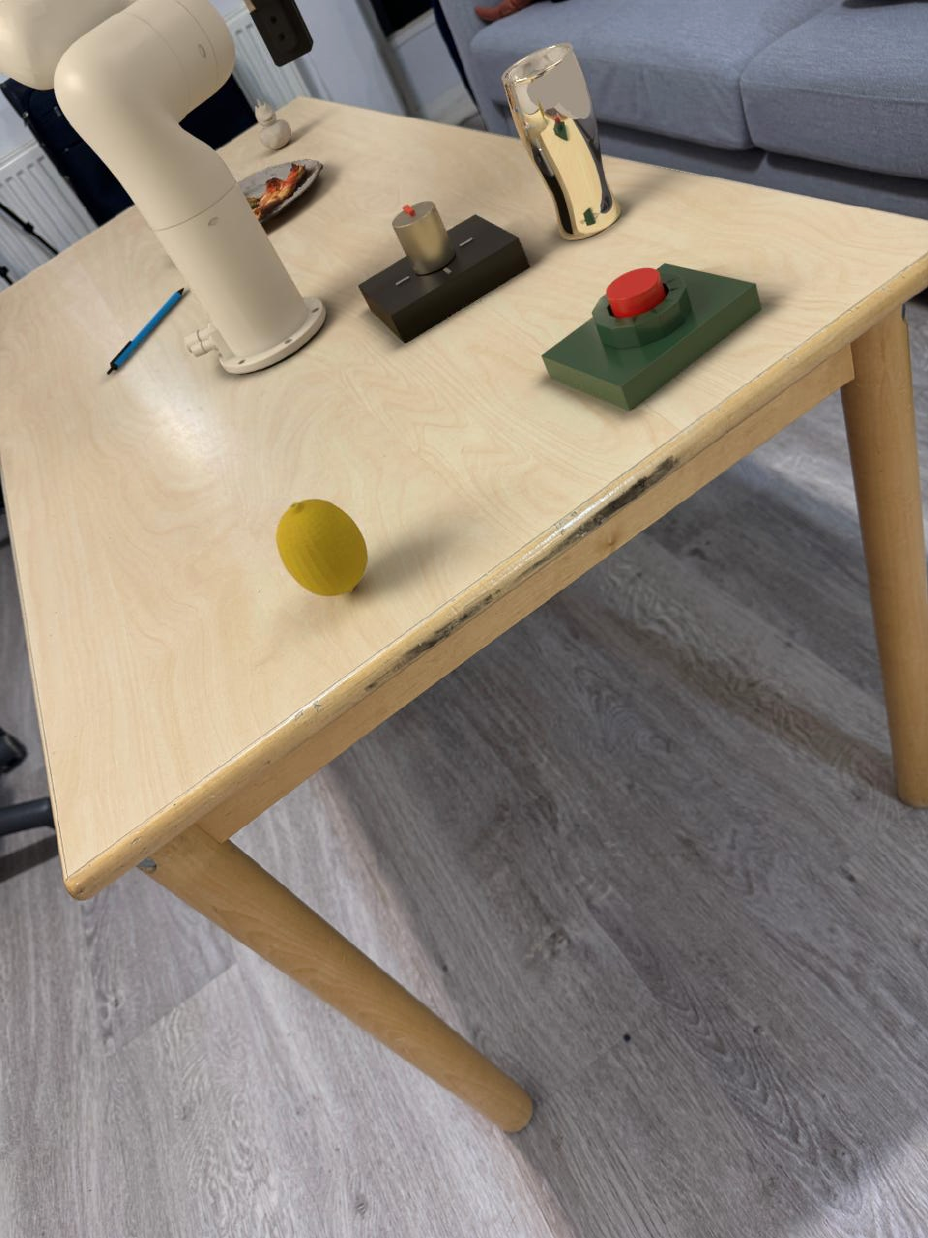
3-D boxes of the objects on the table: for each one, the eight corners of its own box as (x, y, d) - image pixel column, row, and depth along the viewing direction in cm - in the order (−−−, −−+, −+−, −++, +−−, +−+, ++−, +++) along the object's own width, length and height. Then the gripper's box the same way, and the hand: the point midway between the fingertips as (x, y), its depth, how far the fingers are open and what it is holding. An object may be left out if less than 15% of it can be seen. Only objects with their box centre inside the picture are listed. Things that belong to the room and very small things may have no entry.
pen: (107, 377, 119) (102, 369, 118) (183, 291, 130) (178, 283, 129) (112, 375, 118) (107, 368, 118) (188, 289, 130) (183, 282, 129)
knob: (461, 255, 93) (439, 203, 90) (422, 279, 93) (397, 228, 90) (447, 244, 96) (424, 193, 93) (408, 267, 96) (384, 217, 93)
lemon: (316, 579, 71) (258, 496, 66) (385, 551, 70) (332, 465, 65) (314, 630, 67) (252, 546, 62) (387, 601, 66) (330, 514, 61)
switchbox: (630, 412, 70) (613, 365, 67) (550, 378, 77) (532, 335, 75) (762, 309, 72) (750, 260, 69) (671, 286, 79) (658, 241, 77)
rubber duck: (271, 156, 161) (245, 108, 156) (263, 151, 166) (237, 103, 161) (299, 139, 161) (274, 90, 156) (290, 134, 166) (265, 86, 161)
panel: (404, 343, 92) (389, 314, 90) (371, 310, 101) (356, 283, 99) (530, 266, 93) (518, 235, 91) (486, 240, 101) (474, 211, 99)
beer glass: (622, 228, 90) (570, 60, 81) (551, 251, 93) (492, 91, 83) (628, 195, 95) (579, 32, 85) (560, 217, 98) (505, 62, 88)
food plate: (355, 161, 139) (344, 137, 137) (259, 253, 128) (245, 228, 126) (243, 187, 155) (231, 165, 153) (148, 270, 144) (134, 248, 142)
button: (636, 324, 70) (629, 303, 69) (602, 314, 73) (595, 293, 72) (677, 293, 71) (671, 271, 70) (641, 284, 74) (635, 263, 73)
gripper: (130, -211, 70) (263, 54, 82) (79, -200, 59) (242, 105, 71) (220, -267, 68) (344, 13, 80) (186, -266, 57) (335, 58, 69)
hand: (296, 55), depth 75 cm, fingers closed
